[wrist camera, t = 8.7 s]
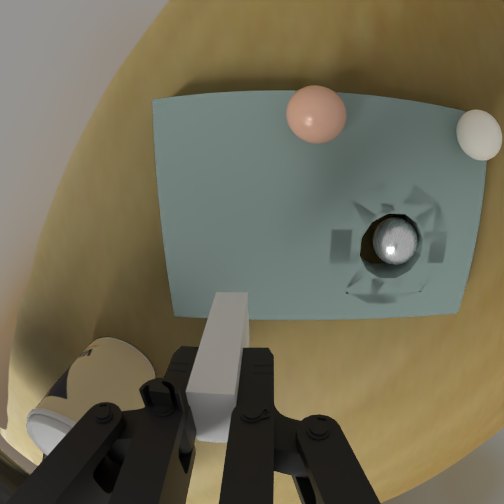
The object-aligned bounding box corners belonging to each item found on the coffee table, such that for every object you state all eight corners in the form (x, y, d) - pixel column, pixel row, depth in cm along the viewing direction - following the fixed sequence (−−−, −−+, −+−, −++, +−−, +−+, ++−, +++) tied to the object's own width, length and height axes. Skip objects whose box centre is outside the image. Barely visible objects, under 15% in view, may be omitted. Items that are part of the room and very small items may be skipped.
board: (183, 299, 25) (174, 316, 22) (165, 102, 19) (152, 99, 17) (445, 297, 23) (457, 313, 21) (469, 116, 17) (488, 117, 15)
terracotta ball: (285, 142, 17) (287, 144, 14) (284, 88, 16) (286, 80, 13) (340, 143, 17) (352, 146, 14) (339, 90, 16) (352, 83, 13)
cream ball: (446, 154, 17) (472, 160, 14) (447, 105, 15) (474, 104, 12) (482, 160, 16) (510, 167, 13) (484, 114, 15) (512, 115, 12)
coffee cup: (91, 312, 26) (20, 400, 15) (177, 363, 28) (137, 470, 16) (76, 367, 30) (25, 443, 19) (147, 409, 31) (113, 495, 20)
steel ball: (361, 261, 21) (401, 276, 18) (366, 216, 20) (408, 227, 17) (384, 251, 23) (420, 263, 20) (389, 210, 22) (427, 220, 19)
